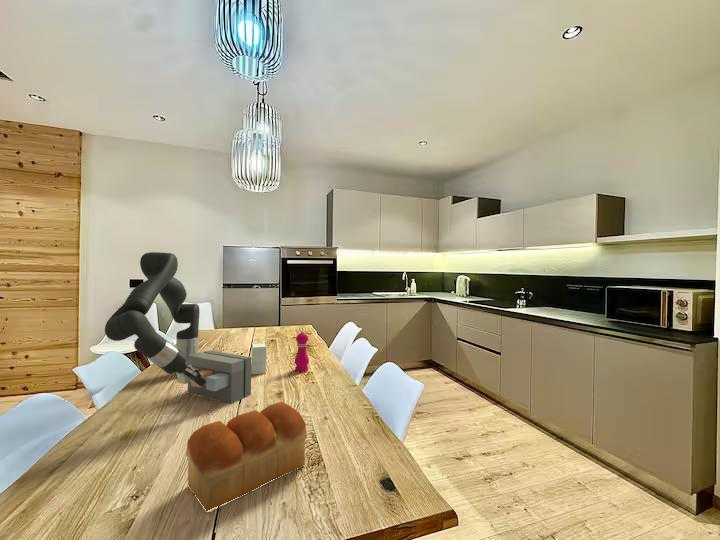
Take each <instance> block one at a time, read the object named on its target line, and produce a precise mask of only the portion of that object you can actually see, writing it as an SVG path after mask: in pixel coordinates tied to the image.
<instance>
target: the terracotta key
mask: <svg viewBox="0 0 720 540" xmlns="http://www.w3.org/2000/svg"><path fill="white" fill-rule="evenodd" d="M199 373H200V374H201V377H202V378H203V379H204V380H206V377H208V376H211V375H214V370H211V369H206V370H202V371H199ZM205 385H206V383H205V384H204V386H205ZM191 386H195V387H199V388H200V387H202V386H199V385H198V384H197V383H195V382H193V381H191Z"/></svg>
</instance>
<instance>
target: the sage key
mask: <svg viewBox="0 0 720 540" xmlns="http://www.w3.org/2000/svg"><path fill="white" fill-rule="evenodd" d="M192 367H193V368H194V369H195V370H198V371H200V367H196V366H192ZM190 382H191V380H189V379H187V378H185V377H183V376H182V375H180V374H178V373H177V375H176V383H177V384H178V383H179V384H182V385H186V384H187V385H188V383H190Z"/></svg>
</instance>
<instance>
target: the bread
mask: <svg viewBox="0 0 720 540" xmlns="http://www.w3.org/2000/svg"><path fill="white" fill-rule="evenodd" d="M307 438H308V433H307V426H306V421H305V420H304V418H303V416H302V414H300V412H299V411H297V409H295V408H294V407H292V406H291V405H289V404H288V403H285V402H283V401H279V402H276V403H273V404H269V405H267V406H266V407H265V408H263V409H262V410H260V411H258V410H256V409H254V410H252V411H247V412H245V413H242V414H241V413H240V414H238V415H236V416H234V417H233V418H231V419H229V420H228V421H227V423H226V424H224V423H223V422H222V421H221V420H218V421H214V422H211V423H208V424H204V425H202V426H201V427H199V428H197V429H196V430H195V431H193V433H192V434H191V435H190V437H189V438H188V439H187V445H186V452H185V456H186V457H187V459H188V461H187V462H188V463H187V465H188V466H187V486H188V485H189V487H190V488H191V490H192V491H193V492H194V494H195V495H196V497H197V498H198V499H199V501H200V502H201V504H202V505H203V506H204V508H205V509H206V511H208V510H210V509H212V508H214V507H217V506H220V505H222V504H224V503H226V502H229V501H231V500H233V499H235V498H237V497H240V496H242V495H244V494H246V493H248V492H250V491H252V490H254V489H256V488H258V487H260V486H261V485H263V484H265V483H267V482H269V481H271V480H273V479H276V478H278V477H280V476H282V475H284V474H286V473H289V472H291V471H293V470H295V469H297V468H299V467H301V466H303V465H305V464H306V462H305V461H306V460H305V459H306V455H305V454H306V453H305V452H306V450H305V449H306V439H307ZM303 467H304V466H303ZM301 468H302V467H301ZM299 469H300V468H299ZM297 470H298V469H297ZM295 471H296V470H295ZM293 472H294V471H293ZM291 473H292V472H291ZM289 474H290V473H289ZM189 487H188V488H189ZM191 490H190V491H191ZM196 497H195V498H196Z"/></svg>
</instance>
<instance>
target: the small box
mask: <svg viewBox="0 0 720 540" xmlns="http://www.w3.org/2000/svg"><path fill="white" fill-rule="evenodd" d="M251 346H252V347H251V376H252V375H263V374H267V345H266V342H265V343H252V345H251Z"/></svg>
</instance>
